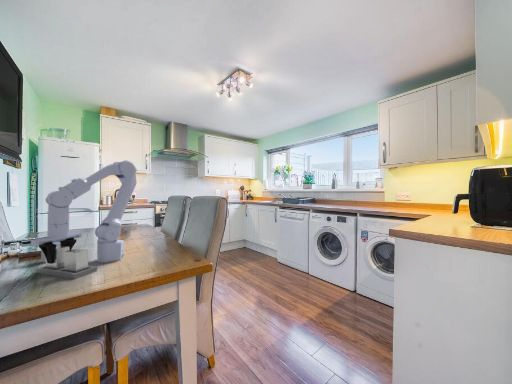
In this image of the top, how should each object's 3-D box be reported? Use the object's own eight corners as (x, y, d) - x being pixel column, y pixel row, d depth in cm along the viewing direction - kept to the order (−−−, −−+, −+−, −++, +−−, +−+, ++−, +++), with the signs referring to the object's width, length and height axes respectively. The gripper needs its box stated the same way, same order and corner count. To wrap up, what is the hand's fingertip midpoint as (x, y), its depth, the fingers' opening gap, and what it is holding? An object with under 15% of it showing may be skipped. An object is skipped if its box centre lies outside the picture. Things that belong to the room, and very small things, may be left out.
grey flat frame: (35, 275, 74) (36, 268, 74) (60, 268, 81) (60, 261, 81) (74, 282, 69) (74, 274, 69) (96, 273, 76) (97, 266, 76)
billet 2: (64, 274, 73) (64, 251, 73) (76, 270, 77) (77, 248, 77) (75, 276, 71) (76, 252, 71) (88, 272, 75) (88, 249, 75)
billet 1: (45, 270, 75) (45, 248, 75) (58, 266, 79) (58, 245, 79) (56, 271, 74) (56, 249, 74) (69, 268, 78) (69, 246, 78)
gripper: (72, 220, 84) (72, 254, 84) (24, 226, 70) (24, 266, 70) (85, 221, 83) (85, 256, 83) (39, 227, 69) (38, 268, 69)
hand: (58, 261), depth 76 cm, fingers closed on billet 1, 4 cm apart
